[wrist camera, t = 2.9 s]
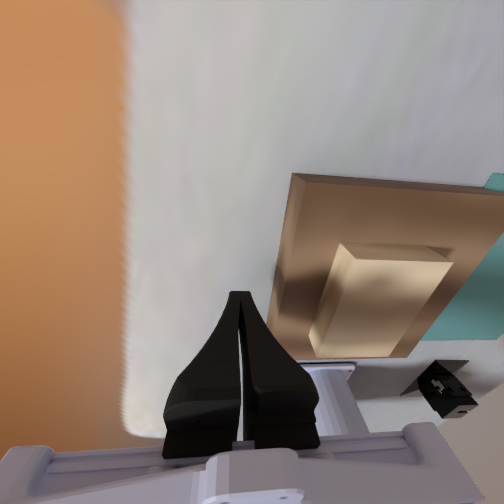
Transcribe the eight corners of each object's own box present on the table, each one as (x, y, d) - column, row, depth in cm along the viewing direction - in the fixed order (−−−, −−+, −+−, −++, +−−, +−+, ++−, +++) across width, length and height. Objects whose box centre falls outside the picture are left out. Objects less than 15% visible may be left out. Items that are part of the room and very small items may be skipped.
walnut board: (387, 332, 23) (406, 357, 20) (264, 333, 21) (268, 360, 19) (477, 187, 15) (530, 198, 12) (292, 173, 13) (305, 181, 11)
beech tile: (373, 335, 18) (388, 356, 16) (308, 335, 17) (316, 358, 15) (425, 245, 13) (453, 262, 12) (339, 242, 13) (356, 259, 11)
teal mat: (492, 336, 25) (496, 339, 24) (387, 338, 23) (389, 340, 23) (648, 186, 16) (658, 187, 15) (493, 173, 14) (499, 174, 14)
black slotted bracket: (426, 395, 33) (452, 431, 29) (386, 396, 32) (408, 433, 28) (478, 349, 27) (521, 386, 23) (431, 348, 26) (467, 387, 22)
